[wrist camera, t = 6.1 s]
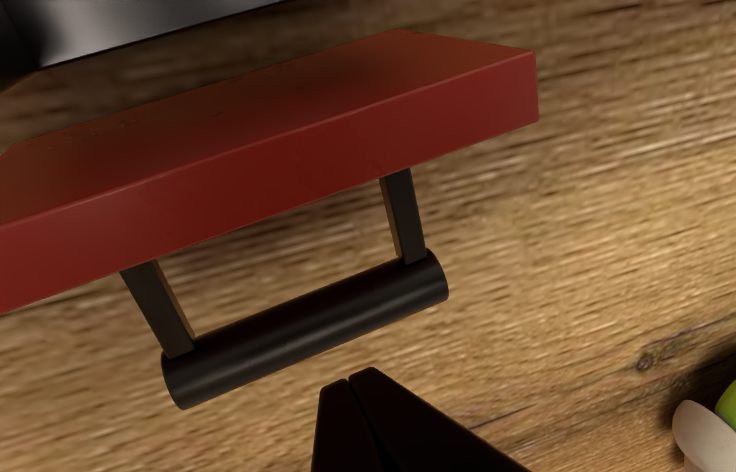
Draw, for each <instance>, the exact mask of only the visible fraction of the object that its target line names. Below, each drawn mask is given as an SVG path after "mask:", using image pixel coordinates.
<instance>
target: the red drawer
mask: <svg viewBox="0 0 736 472" xmlns="http://www.w3.org/2000/svg"><path fill="white" fill-rule="evenodd" d="M292 1H295V0H0V94H1V93H3V92H5V91H6V90H8V89H10V88H11V87H13V86H15V85H16V84H18V83H20V82H21V81H23V80H25V79H26V78H28V77H30V76H32V75H33V74H35V73H37V72H40V71H44V70H47V69H51V68H54V67H58V66H62V65H65V64H69V63H72V62H76V61H80V60H83V59H87V58H90V57H94V56H98V55H101V54H105V53H108V52H112V51H116V50H119V49H123V48H126V47H130V46H134V45H137V44H141V43H144V42H148V41H152V40H155V39H159V38H162V37H166V36H170V35H173V34H177V33H180V32H184V31H188V30H191V29H195V28H198V27H202V26H206V25H209V24H213V23H216V22H220V21H223V20H227V19H231V18H234V17H238V16H241V15H245V14H249V13H252V12H256V11H259V10H263V9H267V8H270V7H274V6H277V5H281V4H285V3H288V2H292ZM538 120H539V109H538V92H537V75H536V59H535V52H534V51H533V50H527V49H520V48H514V47H508V46H502V45H495V44H489V43H483V42H477V41H470V40H464V39H458V38H452V37H445V36H439V35H433V34H427V33H420V32H414V31H408V30H402V29H394V30H390V31H387V32H384V33H380V34H377V35H374V36H370V37H367V38H364V39H360V40H357V41H354V42H350V43H347V44H344V45H340V46H337V47H334V48H330V49H327V50H324V51H320V52H317V53H314V54H310V55H307V56H304V57H301V58H297V59H294V60H291V61H287V62H284V63H281V64H277V65H274V66H271V67H267V68H264V69H261V70H257V71H254V72H251V73H247V74H244V75H241V76H237V77H234V78H231V79H227V80H224V81H221V82H217V83H214V84H211V85H207V86H204V87H201V88H198V89H194V90H191V91H188V92H184V93H181V94H178V95H174V96H171V97H168V98H164V99H161V100H158V101H154V102H151V103H148V104H144V105H141V106H138V107H134V108H131V109H128V110H124V111H121V112H118V113H114V114H111V115H108V116H104V117H101V118H98V119H95V120H91V121H88V122H85V123H81V124H78V125H75V126H71V127H68V128H65V129H61V130H58V131H55V132H51V133H48V134H45V135H41V136H38V137H35V138H31V139H28V140H25V141H21V142H18V143H15V144H13V145H12V146H11V147H10V148H9V149H8V150H6V151H5V152H4V153H3V154H2V155H1V156H0V314H3V313H6V312H8V311H11V310H14V309H17V308H20V307H22V306H25V305H28V304H31V303H33V302H36V301H39V300H42V299H45V298H47V297H50V296H53V295H56V294H58V293H61V292H64V291H67V290H70V289H72V288H75V287H78V286H81V285H84V284H86V283H89V282H92V281H95V280H97V279H100V278H103V277H106V276H109V275H111V274H114V273H117V272H119V273H120V275H121V276H122V278H123V280H124V282H125V283H126V285H127V287H128V289H129V291H130V292H131V294H132V296H133V298H134V299H135V301H136V303H137V305H138V306H139V308H140V310H141V312H142V313H143V315H144V317H145V319H146V320H147V322H148V324H149V326H150V327H151V329H152V331H153V333H154V334H155V336H156V338H157V340H158V341H159V343H160V345H161V347H162V348H163V351H162V353H161V367H162V372H163V376H164V380H165V383H166V386H167V388H168V391H169V393H170V395H171V397H172V399H173V401H174V402H175V404H176V405H177V406H178V407H179V408H180V409H181V410H186V409H189V408H191V407H194V406H196V405H198V404H201V403H203V402H205V401H208V400H210V399H213V398H215V397H217V396H220V395H222V394H224V393H227V392H229V391H232V390H234V389H236V388H239V387H241V386H244V385H246V384H248V383H251V382H253V381H255V380H258V379H260V378H263V377H265V376H267V375H270V374H272V373H274V372H277V371H279V370H282V369H284V368H286V367H289V366H291V365H294V364H296V363H298V362H301V361H303V360H305V359H308V358H310V357H313V356H315V355H317V354H320V353H322V352H324V351H327V350H329V349H332V348H334V347H336V346H339V345H341V344H344V343H346V342H348V341H351V340H353V339H355V338H358V337H360V336H363V335H365V334H367V333H370V332H372V331H374V330H377V329H379V328H382V327H384V326H386V325H389V324H391V323H394V322H396V321H398V320H401V319H403V318H405V317H408V316H410V315H413V314H415V313H417V312H420V311H422V310H425V309H427V308H429V307H432V306H434V305H436V304H439V303H441V302H444V301H446V300H447V299H448V296H449V290H448V284H447V280H446V277H445V274H444V272H443V269H442V267H441V265H440V263H439V261H438V259H437V258H436V256H435V255H434V254H433V252H432V251H431V250H430V249H428V248H426V246H425V241H424V236H423V231H422V226H421V221H420V216H419V211H418V206H417V201H416V196H415V191H414V186H413V181H412V176H411V171H410V167H412V166H415V165H418V164H420V163H423V162H426V161H429V160H431V159H434V158H437V157H440V156H443V155H445V154H448V153H451V152H454V151H456V150H459V149H462V148H465V147H468V146H470V145H473V144H476V143H479V142H482V141H484V140H487V139H490V138H493V137H495V136H498V135H501V134H504V133H507V132H509V131H512V130H515V129H518V128H521V127H523V126H526V125H529V124H532V123H534V122H537V121H538ZM376 179H379V183H380V187H381V191H382V195H383V200H384V204H385V208H386V212H387V217H388V221H389V225H390V229H391V234H392V238H393V242H394V246H395V251H396V255H397V256H398V258H396V259H393V260H390V261H388V262H385V263H383V264H380V265H378V266H375V267H373V268H370V269H368V270H365V271H363V272H360V273H357V274H355V275H352V276H350V277H347V278H345V279H342V280H340V281H337V282H335V283H332V284H330V285H327V286H324V287H322V288H319V289H317V290H314V291H312V292H309V293H307V294H304V295H302V296H299V297H297V298H294V299H292V300H289V301H286V302H284V303H281V304H279V305H276V306H274V307H271V308H269V309H266V310H264V311H261V312H259V313H256V314H253V315H251V316H248V317H246V318H243V319H241V320H238V321H236V322H233V323H231V324H228V325H226V326H223V327H220V328H218V329H215V330H213V331H210V332H208V333H205V334H203V335H200V336H198V337H195V334H194V332H193V330H192V328H191V326H190V324H189V322H188V320H187V318H186V316H185V314H184V313H183V311H182V309H181V307H180V305H179V303H178V301H177V299H176V297H175V295H174V293H173V291H172V289H171V287H170V285H169V284H168V282H167V280H166V278H165V276H164V274H163V272H162V270H161V268H160V266H159V264H158V262H157V260H156V258H159V257H161V256H164V255H167V254H170V253H173V252H175V251H178V250H181V249H184V248H187V247H189V246H192V245H195V244H198V243H200V242H203V241H206V240H209V239H212V238H214V237H217V236H220V235H223V234H225V233H228V232H231V231H234V230H237V229H239V228H242V227H245V226H248V225H251V224H253V223H256V222H259V221H262V220H264V219H267V218H270V217H273V216H276V215H278V214H281V213H284V212H287V211H289V210H292V209H295V208H298V207H301V206H303V205H306V204H309V203H312V202H315V201H317V200H320V199H323V198H326V197H328V196H331V195H334V194H337V193H340V192H342V191H345V190H348V189H351V188H354V187H356V186H359V185H362V184H365V183H367V182H370V181H373V180H376Z"/></svg>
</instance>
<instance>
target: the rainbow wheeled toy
mask: <svg viewBox="0 0 736 472" xmlns="http://www.w3.org/2000/svg"><path fill="white" fill-rule="evenodd" d="M672 430H673V435H674V438H675V441H676V443H677V445H678V446H679V448H680V449H681V450H682V451H683V453H684V454H685V456H684V468H685V472H736V380H735V381H734V382H733V383H732V384H731V385H730V386H729V387H728V388H727V389H726V391H725V392H724V393H723V395H722V396H721V397H720V399H719V400H718V402H717V404H716V407H715V411H714V413H712V412H711V411H710V410H708V409H707V408H705V407H704V406H702V405H700V404H698V403H696V402H694V401H692V400H684V401H682V402H681V403H680V404H679V406H678V407H677V409H676V411H675V413H674V416H673V421H672Z"/></svg>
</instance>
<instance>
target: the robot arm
mask: <svg viewBox="0 0 736 472" xmlns="http://www.w3.org/2000/svg"><path fill="white" fill-rule="evenodd" d="M310 472H532V471H530V470H529V469H527V468H526V467H524V466H523V465H521V464H520V463H518V462H517V461H515V460H514V459H512V458H511V457H509V456H508V455H506V454H505V453H503V452H501V451H500V450H498V449H497V448H495V447H494V446H492V445H491V444H489V443H488V442H486V441H485V440H483V439H482V438H480V437H479V436H477V435H476V434H474V433H473V432H471V431H470V430H468V429H467V428H465V427H464V426H462V425H461V424H459V423H458V422H456V421H455V420H453V419H452V418H450V417H449V416H447V415H446V414H444V413H443V412H441V411H440V410H438V409H437V408H435V407H434V406H432V405H431V404H429V403H427V402H426V401H424V400H423V399H421V398H420V397H418V396H417V395H415V394H414V393H412V392H411V391H409V390H408V389H406V388H405V387H403V386H402V385H400V384H399V383H397V382H396V381H394V380H393V379H391V378H390V377H388V376H387V375H385V374H384V373H382V372H381V371H379V370H378V369H376V368H374V367H368V368H366V369H363V370H361V371H359V372H356V373H354V374H352V375H350V376H349V378H348V381H347V380H346V379H340V380H338V381H336V382H333V383H331V384H329V385H326V386H324V387H323V388H322V389H321V391H320V396H319V404H318V412H317V421H316V429H315V438H314V446H313V455H312V463H311V471H310Z"/></svg>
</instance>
